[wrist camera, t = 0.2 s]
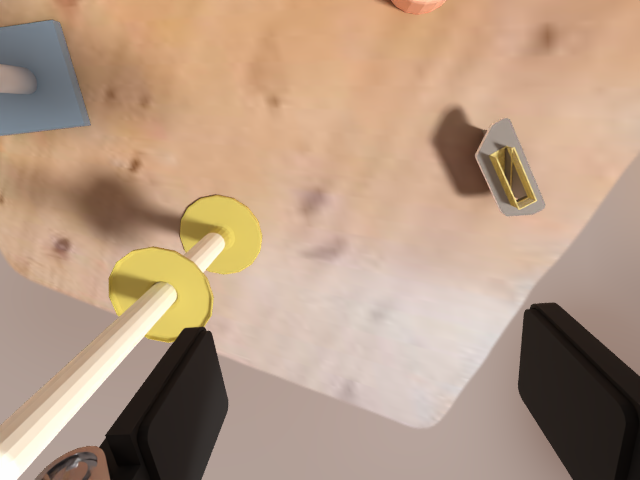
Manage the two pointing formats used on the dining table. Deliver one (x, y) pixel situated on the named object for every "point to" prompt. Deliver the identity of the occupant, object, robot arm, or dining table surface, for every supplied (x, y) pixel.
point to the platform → (508, 171)
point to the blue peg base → (38, 80)
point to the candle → (138, 318)
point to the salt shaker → (418, 5)
